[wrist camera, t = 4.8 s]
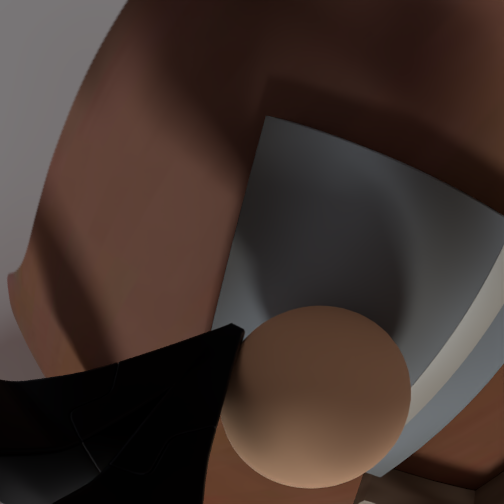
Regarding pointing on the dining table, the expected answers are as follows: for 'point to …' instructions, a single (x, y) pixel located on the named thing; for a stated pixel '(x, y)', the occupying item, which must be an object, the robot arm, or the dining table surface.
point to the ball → (316, 397)
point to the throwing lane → (376, 278)
